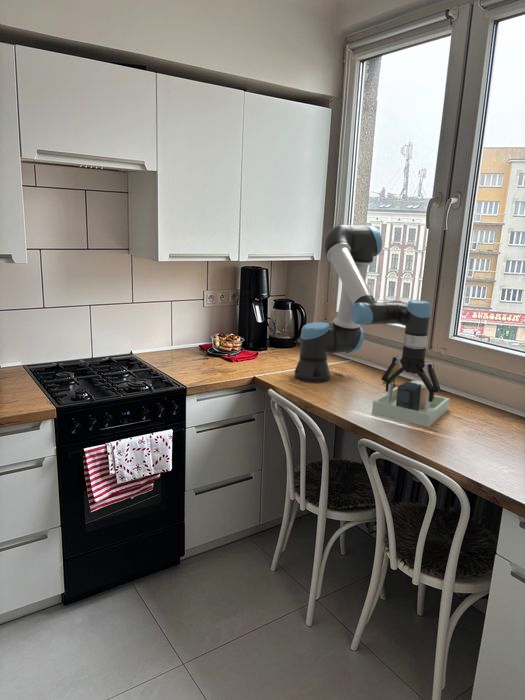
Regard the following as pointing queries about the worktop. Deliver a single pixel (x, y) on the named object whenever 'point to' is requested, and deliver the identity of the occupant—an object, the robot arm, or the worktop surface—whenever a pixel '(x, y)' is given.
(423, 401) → the jar
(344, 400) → the worktop surface
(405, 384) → the box
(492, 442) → the worktop surface
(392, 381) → the rock
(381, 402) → the tray
